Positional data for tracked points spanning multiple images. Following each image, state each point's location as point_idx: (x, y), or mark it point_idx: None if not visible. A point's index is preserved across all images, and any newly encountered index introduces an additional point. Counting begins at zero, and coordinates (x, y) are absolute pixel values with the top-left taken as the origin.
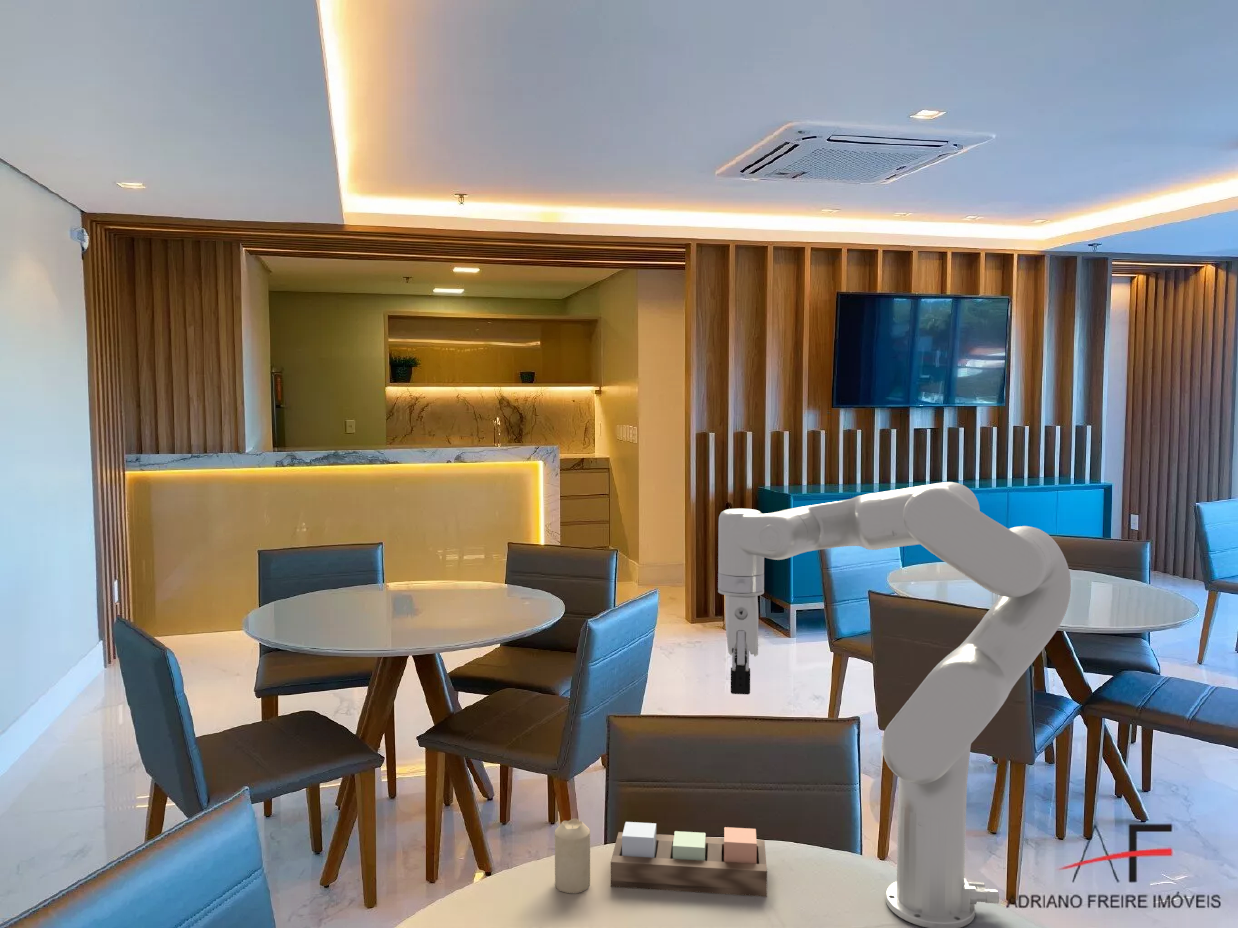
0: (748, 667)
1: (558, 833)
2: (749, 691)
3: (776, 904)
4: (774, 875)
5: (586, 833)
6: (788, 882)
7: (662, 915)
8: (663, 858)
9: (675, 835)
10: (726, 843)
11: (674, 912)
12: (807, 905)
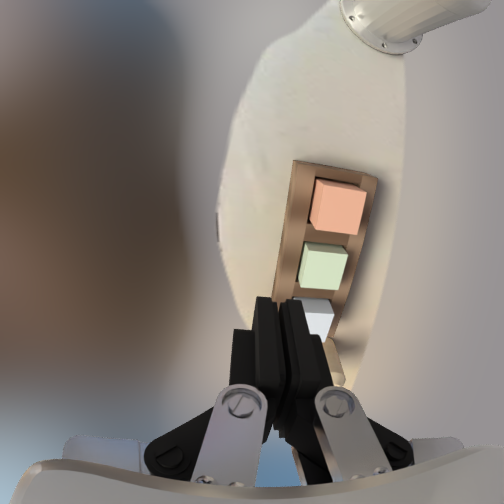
0: (361, 410)
1: None
2: (302, 306)
3: (379, 166)
4: (320, 153)
5: (338, 374)
6: (337, 140)
7: (381, 278)
8: (335, 291)
9: (312, 286)
10: (357, 231)
11: (378, 268)
12: (383, 133)
